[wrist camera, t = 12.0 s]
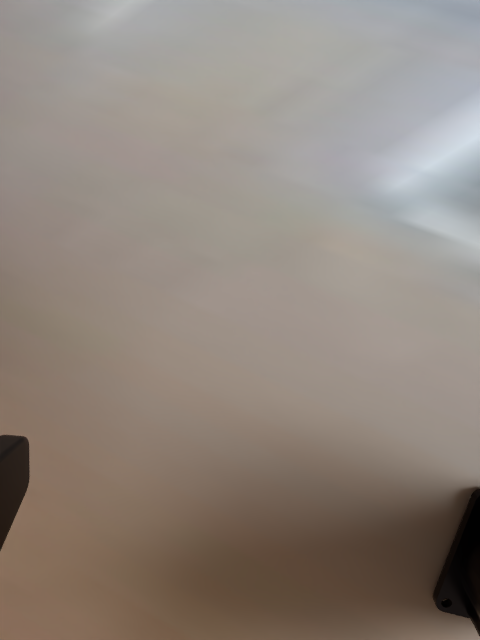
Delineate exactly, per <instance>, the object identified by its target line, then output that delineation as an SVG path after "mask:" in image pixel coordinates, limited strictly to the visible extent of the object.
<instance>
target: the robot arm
mask: <svg viewBox="0 0 480 640" xmlns="http://www.w3.org/2000/svg"><path fill="white" fill-rule="evenodd" d="M28 484H29V442H28V439H27V438H26V437H24V436H14V435H1V436H0V551H1V548H2V546H3V544H4V541H5V539H6V537H7V535H8V532H9V530H10V528H11V525H12V523H13V521H14V518H15V516H16V514H17V512H18V509H19V507H20V505H21V502H22V500H23V498H24V496H25V493H26V491H27V488H28ZM445 598H446V599H447V600H445V601H442V600H443V599H445ZM433 599H434V602H435V604H436V606H437V608H438V609H439V610H441V611H443V612H447V613H451V614H455V615H459V616H463V617H467V618H470V619H471V621H472V622H473V624H474V626H475V628H476V630H477V632H478V634H479V636H480V489H478V490H476V491H475V492H474V493H473V494H472V496H471V499H470V501H469V504H468V506H467V509H466V512H465V514H464V517H463V519H462V522H461V524H460V527H459V529H458V532H457V535H456V537H455V540H454V542H453V545H452V547H451V550H450V553H449V555H448V558H447V560H446V563H445V565H444V568H443V570H442V573H441V576H440V578H439V581H438V583H437V586H436V588H435V591H434V594H433Z"/></svg>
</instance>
